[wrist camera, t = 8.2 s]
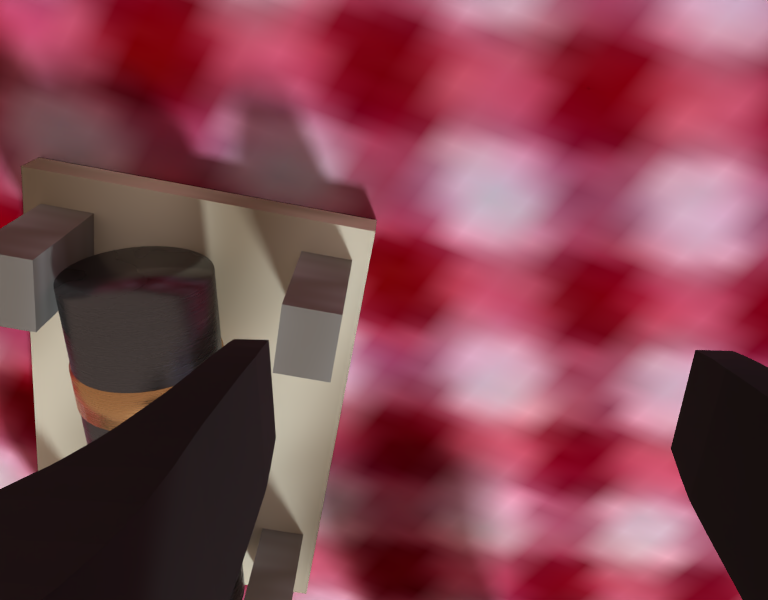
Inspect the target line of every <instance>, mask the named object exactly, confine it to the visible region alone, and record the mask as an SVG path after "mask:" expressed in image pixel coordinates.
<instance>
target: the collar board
mask: <svg viewBox="0 0 768 600" xmlns="http://www.w3.org/2000/svg"><path fill="white" fill-rule="evenodd" d="M21 174H22V192H23V210H24V214H23V215H22V216H20V217H19V218H17V219H15V220H14V221H12V222H11V223H9V224H7V225H6V226H4V227H3V228H1V229H0V326H2V327H8V328H14V329H19V330H25V331H30V336H31V354H32V372H33V390H34V408H35V426H36V444H37V462H38V471H39V470H41V469H43V468H45V467H48V466H50V465H52V464H53V463H55V462H57V461H59V460H61V459H63V458H65V457H66V456H68V455H70V454H72V453H73V452H75V451H77V450H79V449H80V448H82V447H84V446H86V445H87V441H86V437H85V432H84V427H83V423H82V418H81V415H80V413H79V411H78V408H77V405H76V400H75V395H74V391H73V386H72V381H71V377H70V372H69V358H68V353H67V348H66V344H65V339H64V334H63V330H62V325H61V320H60V316H59V311H58V307H57V302H56V297H55V293H54V287H53V284H54V280H55V279H56V277H57V276H58V275H59V274H60V272H62V271H63V270H64V269H65V268H67V267H69V266H70V265H72V264H74V263H76V262H78V261H80V260H82V259H85V258H87V257H90V256H93V255H96V254H100V253H104V252H108V251H112V250H118V249H124V248H131V247H142V246H167V247H177V248H183V249H188V250H192V251H195V252H198V253H200V254H202V255H204V256H206V257H207V258H209V259H210V260H211V261H212V263H213V264H214V268H215V278H216V289H217V299H218V310H219V320H220V330H221V338H222V340H223V344H224V346H225V345H226V344H227V343H229V342H230V341H231V340H233V339H254V340H269V348H270V362H271V376H272V389H273V403H274V417H275V431H276V440H275V446H274V452H273V457H272V463H271V468H270V473H269V478H268V484H267V488H266V492H265V495H264V498H263V501H262V504H261V507H260V511H259V514H258V517H257V520H256V523H255V526H254V529H253V532H252V535H251V538H250V541H249V544H248V547H247V550H246V553H245V556H244V559H243V572H244V582H245V584H246V585H248V587H247V591H246V595H245V598H244V600H292V596H293V592H298V593H305V594H306V592H307V586H308V581H309V576H310V571H311V565H312V560H313V555H314V550H315V545H316V539H317V534H318V529H319V524H320V518H321V513H322V508H323V503H324V497H325V492H326V487H327V482H328V476H329V471H330V466H331V461H332V456H333V450H334V445H335V440H336V435H337V429H338V424H339V419H340V414H341V408H342V403H343V398H344V393H345V387H346V382H347V377H348V372H349V367H350V361H351V356H352V351H353V346H354V340H355V335H356V330H357V325H358V319H359V314H360V309H361V304H362V299H363V293H364V288H365V283H366V278H367V272H368V267H369V262H370V257H371V251H372V246H373V241H374V236H375V230H376V221H377V220H373V219H368V218H362V217H357V216H351V215H346V214H341V213H335V212H330V211H325V210H319V209H314V208H308V207H303V206H298V205H292V204H287V203H281V202H276V201H271V200H265V199H260V198H254V197H249V196H244V195H238V194H233V193H228V192H222V191H217V190H211V189H206V188H201V187H195V186H190V185H184V184H179V183H174V182H168V181H163V180H157V179H152V178H147V177H141V176H136V175H131V174H125V173H120V172H114V171H109V170H104V169H98V168H93V167H87V166H82V165H77V164H71V163H66V162H61V161H55V160H50V159H44V158H37V159H35V160H33V161H31V162H29V163H27V164H25V165H23V166H21Z"/></svg>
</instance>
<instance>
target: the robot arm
mask: <svg viewBox="0 0 768 600" xmlns="http://www.w3.org/2000/svg"><path fill="white" fill-rule="evenodd" d="M275 440H276V431H275V417H274V403H273V389H272V376H271V362H270V348H269V340H254V339H233V340H231V341H230V342H229V343H227V344H226V345H225V346H223V347H222V348H221V349H219V350H218V351H217V352H216V353H214V354H213V355H212V356H211V357H210V358H208V359H207V360H206V361H205V362H203V363H202V364H201V365H200V366H198V367H197V368H196V369H195V370H193V371H192V372H191V373H190V374H188V375H187V376H186V377H184V378H183V379H182V380H181V381H179V382H178V383H177V384H176V385H174V386H173V387H172V388H170V389H169V390H168V391H167V392H165V393H164V394H163V395H161V396H160V397H158V398H157V399H155V400H154V401H153V402H151V403H150V404H148V405H147V406H145V407H144V408H143V409H141V410H140V411H138V412H137V413H135V414H134V415H133V416H131V417H130V418H128V419H127V420H125V421H124V422H123V423H121V424H120V425H118V426H117V427H115V428H114V429H112V430H111V431H109V432H107V433H106V434H104V435H103V436H101V437H99V438H98V439H96V440H94V441H93V442H91V443H89V444H87V445H86V446H84V447H82V448H80V449H79V450H77V451H75V452H73V453H72V454H70V455H68V456H66V457H65V458H63V459H61V460H59V461H57V462H55V463H53V464H52V465H50V466H48V467H45V468H43V469H41V470H39V471H37V472H35V473H33V474H31V475H29V476H27V477H25V478H23V479H20V480H18V481H16V482H14V483H12V484H10V485H8V486H6V487H4V488H2V489H0V600H230V599H231V596H232V593H233V590H234V587H235V584H236V581H237V578H238V575H239V572H240V568H241V565H242V562H243V559H244V556H245V553H246V550H247V547H248V544H249V541H250V538H251V535H252V532H253V529H254V526H255V523H256V520H257V517H258V514H259V511H260V507H261V504H262V501H263V498H264V495H265V492H266V488H267V484H268V478H269V473H270V468H271V463H272V457H273V452H274V446H275ZM671 450H672V453H673V456H674V459H675V462H676V465H677V468H678V471H679V473H680V476H681V479H682V482H683V484H684V487H685V490H686V492H687V495H688V497H689V500H690V502H691V504H692V506H693V508H694V510H695V512H696V514H697V516H698V518H699V519H700V521H701V523H702V525H703V527H704V529H705V531H706V533H707V535H708V536H709V538H710V540H711V542H712V544H713V546H714V548H715V550H716V551H717V553H718V555H719V557H720V559H721V561H722V562H723V564H724V566H725V568H726V570H727V572H728V574H729V575H730V577H731V579H732V581H733V583H734V585H735V586H736V588H737V590H738V592H739V594H740V596H741V598H742V599H743V600H768V367H766V366H764V365H762V364H760V363H758V362H756V361H754V360H752V359H750V358H748V357H746V356H743V355H741V354H738V353H736V352H734V351H711V350H695V354H694V358H693V362H692V366H691V370H690V374H689V378H688V382H687V386H686V390H685V394H684V398H683V402H682V406H681V410H680V414H679V418H678V422H677V426H676V430H675V434H674V438H673V442H672V446H671Z"/></svg>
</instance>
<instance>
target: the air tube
mask: <svg viewBox="0 0 768 600" xmlns="http://www.w3.org/2000/svg"><path fill="white" fill-rule="evenodd" d="M53 287H54V293H55V297H56V302H57V307H58V311H59V316H60V320H61V325H62V330H63V334H64V339H65V344H66V348H67V353H68V358H69V372H70V377H71V381H72V386H73V391H74V395H75V400H76V405H77V408H78V411H79V413H80V415H81V418H82V423H83V427H84V432H85V437H86V441H87V444H89V443H91V442H93V441H94V440H96V439H98V438H99V437H101V436H103V435H104V434H106V433H107V432H109V431H111V430H112V429H114V428H115V427H117V426H118V425H120V424H121V423H123V422H124V421H125V420H127V419H128V418H130V417H131V416H133V415H134V414H135V413H137V412H138V411H140V410H141V409H143V408H144V407H145V406H147V405H148V404H150V403H151V402H153V401H154V400H155V399H157V398H158V397H160V396H161V395H163V394H164V393H165V392H167V391H168V390H169V389H170V388H172V387H173V386H174V385H176V384H177V383H178V382H179V381H181V380H182V379H183V378H184V377H186V376H187V375H188V374H190V373H191V372H192V371H193V370H195V369H196V368H197V367H198V366H200V365H201V364H202V363H203V362H205V361H206V360H207V359H208V358H210V357H211V356H212V355H213V354H214V353H216V352H217V351H218V350H219V349H221V348H222V347H223V346H224V344H223V340H222V338H221V330H220V320H219V310H218V299H217V289H216V278H215V268H214V264H213V263H212V261H211V260H210V259H209V258H207V257H206V256H204V255H202V254H200V253H198V252H195V251H192V250H188V249H183V248H177V247H167V246H142V247H131V248H124V249H118V250H112V251H108V252H104V253H100V254H96V255H93V256H90V257H87V258H85V259H82V260H80V261H78V262H76V263H74V264H72V265H70V266H69V267H67V268H65V269H64V270H63V271H62V272H60V274H59V275H58V276H57V277H56V279H55V280H54V284H53ZM244 586H245V582H244V572H243V562H242V565H241V568H240V572H239V575H238V578H237V581H236V584H235V587H234V590H233V593H232V596H231V599H230V600H242V598H243V595H244Z"/></svg>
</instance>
